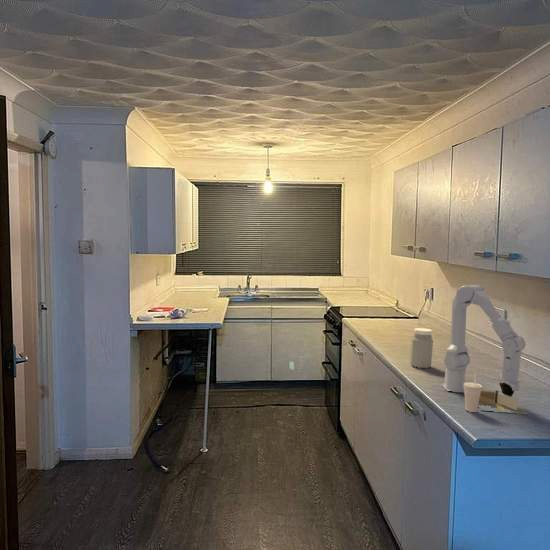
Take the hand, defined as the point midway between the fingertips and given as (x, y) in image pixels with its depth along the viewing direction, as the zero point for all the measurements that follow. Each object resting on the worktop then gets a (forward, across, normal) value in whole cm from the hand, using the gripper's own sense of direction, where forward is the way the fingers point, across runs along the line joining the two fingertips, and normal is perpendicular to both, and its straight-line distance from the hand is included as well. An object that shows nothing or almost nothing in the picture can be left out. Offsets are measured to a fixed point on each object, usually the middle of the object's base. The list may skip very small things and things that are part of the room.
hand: (506, 402), depth 187 cm
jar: (+4, +50, +23) cm, 55 cm away
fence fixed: (+1, +2, +7) cm, 8 cm away
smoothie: (+1, -9, +15) cm, 18 cm away
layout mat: (+1, 0, +3) cm, 4 cm away
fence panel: (0, -3, +1) cm, 3 cm away
